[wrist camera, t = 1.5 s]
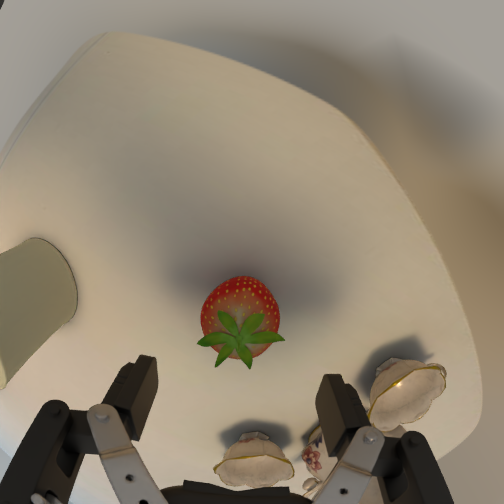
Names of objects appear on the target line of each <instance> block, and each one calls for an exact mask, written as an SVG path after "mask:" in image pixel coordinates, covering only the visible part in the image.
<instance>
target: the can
mask: <svg viewBox="0 0 504 504" xmlns="http://www.w3.org/2000/svg"><path fill="white" fill-rule="evenodd" d="M76 306H77V289H76V284H75V281H74V277H73V275H72V272H71V270H70V268H69V266H68V264H67V262H66V261H65V259H64V258H63V256H62V255H61V254H60V252H59V251H58V250H57V249H56V248H55V247H54V246H52V245H51V244H50V243H48V242H46V241H44V240H42V239H37V238H33V239H28V240H26V241H24V242H23V243H22V244H20V245H18V246H16V247H14V248H12V249H10V250H8V251H6V252H4V253H1V254H0V389H4V388H5V387H6V385H7V383H8V382H9V381H10V379H11V378H12V377H13V376H14V375H15V374H16V372H17V371H18V370H19V369H20V368H21V367H22V366H23V365H24V363H25V362H26V361H27V360H28V359H29V358H30V357H31V356H32V355H33V354H34V353H35V352H36V351H37V350H38V349H39V348H40V346H41V345H42V344H43V343H44V342H45V341H46V340H47V339H48V338H49V337H50V336H51V335H52V334H53V333H54V332H56V331H57V330H58V329H59V328H60V327H61V326H62V325H63V324H65V323H67V322H68V321H69V320H70V319H71V318H72V317H73V315H74V313H75V310H76Z"/></svg>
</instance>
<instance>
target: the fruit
mask: <svg viewBox="0 0 504 504" xmlns="http://www.w3.org/2000/svg"><path fill="white" fill-rule="evenodd" d="M279 323H280V313H279V308H278V304H277V302H276V300H275V299H274V297H273V295H272V294H271V292H270V291H269V290H268V288H267V287H266V286H265V285H264V284H263V283H261V282H260V281H259V280H257V279H254V278H252V277H248V276H238V277H235V278H232V279H229V280H227V281H225V282H224V283H222V284H221V285H219V286H218V287H217V288H216V289H215V290H214V291H213V292H212V293H211V294H210V295H209V296H208V298H207V299H206V301H205V303H204V305H203V307H202V311H201V326H202V330H203V334H204V337H203V338H202V339H201V340H199V341H198V343H197V344H199V345H201V346H204V347H208V346H211V347H212V348H213V349H214V350H215V351H216V352H218V353H219V354H218V357H217V360H216V364H215V367H217V366H218V365H220V364H221V363H222V362H223V361H224V360H225V359H226V358H227V357H229V358H233V359H241V360H242V361H243V362H244V363H245V364H246V365H247V366H248V368H249V369H251V366H252V358H254V357H257V356H259V355H260V354H262V353H263V352H264V351H265V350H266V349H267V348H268V347H269V346H270V345H271V344H272V343H273V342H277V341H285V339H284V338H283V337H281V336H280V335H279V334H277V333H278V328H279Z"/></svg>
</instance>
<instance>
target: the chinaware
mask: <svg viewBox="0 0 504 504" xmlns="http://www.w3.org/2000/svg"><path fill="white" fill-rule="evenodd" d="M441 370H442V372H443V373H444V376H443V375H442V373H441ZM375 378H376V379H375V381H374V383H373V385H372V388H371V392H370V409H369V411H368V412H367V416H368V419H369V421H370V423H371V426H372V427H375V428H377V429H379V430H380V431H381V432H382V433H383V434H384V436H387V437H397V438H401V437H402V435H403V434H404V433H406V432H407V431H406V430H405V429H404V428H403V427H402V426H401V425H400V423H402V424H404V423H412V422H414V421H416V420H418V419H420V418H422V416H423V415H424V414H425V413H426V412H427V411H428V410H429V408H430V405H431V403H432V400H434V399H435V398H437V397H438V396H440V395H441V394H442V392H443V391H444V389H445V388H446V380H445V379H446V370H445V368H444V367H443V366H441V365H439V364H435V363H431V364H428V365H426V364H424V363H422V362H420V361H416V360H401V359H398V358H392V357H391V358H390V359H389V360H387V361H386V362H384V363H383V364H382V365H381V366H380V367H378V368H377V369H376V375H375ZM268 439H269V437H267V436H266V435H264V434H262V433H259V432H250V433H245V434H242V436H241V437H240V439H239V441H238V442H236V443H235V444H233V445H232V446H231V447H230V448H229V449H228V450H227V452H226V453H225V455H224V457H223V460H222V462H220V463H219V464H217V465H215V466H214V468H213V470H214V473H215V474H218V475H219V477H220V479H221V481H222V482H224V483H225V484H226V485H230V486H241V485H245V483H246V485H247V486H250V487H253V488H261V487H271V486H273V485H274V484H275V483H277V482H278V481H279V480H280V481H281V480H288V479H290V478H292V477H293V476H294V469H293V466H292V464H291V462H290V461H289V460H288V459H287V458H286V457H285V455H284V453H283V451H282V450H281V449H280V448H279V447H278V446H277V445H276V444H274V443H273V442H271V441H269V440H268ZM308 443H309V444H308V445H307V446H306V447H305V448H304V450H303V451H302V458H303V460H304V461H305V463H306V466H307V469H308V471H309V472H310V473H311V474H312V475H313V476H314V477H316V478H317V479H319V480H320V481H318V480H317V479H316V478H308V479H307V480H306V481H305V482H304V483H303V489H304V490H307V491H308V492H306V493H305V494H304V495H303V496H304V497H306V498H308V497H309V496H310V495H311V494H312V493H314V492H315V491H317V490H319V488H320V487H321V486H322V484H323V483H324V481H325V480H326V478H327V477H328V475H329V474H330V472H331V471H332V469H333V468H334V466H335V464H336V463H337V461H338V460H337V457H328V453H327V449H326V445H325V441H324V437H323V433H322V430H321V426H320V425H319V426H318V427H317V428H315V429H314V430H313V432H312V433H311V434H310V436H309V439H308ZM317 484H318V485H317ZM358 504H384V503H383V499H382V495H381V491H380V488H379V484H378V480H377V477H375V476H372V478H371V480H370V482H369V484H368V486H367V488H366V490H365V492H364V494H363V496H362V498H361V500H360V501H359V503H358Z"/></svg>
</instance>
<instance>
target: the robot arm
mask: <svg viewBox="0 0 504 504" xmlns="http://www.w3.org/2000/svg"><path fill="white" fill-rule="evenodd" d="M157 389H158V373H157V361H156V358H155V357H151V356H146V355H139V357H138V359H137V361H136V363H135V364H134V363H130V362H129V363H127V364H126V365H125V366H123V367H122V368H121V369H120V371H119V373H118V374H117V376H116V378H115V380H114V382H113V383H112V385H111V387H110V388H109V390H108V392H107V394H106V396H105V397H104V399H103V401H102V403H101V404H97V405H94V406H92V407H91V408H90V409H89V410H88V411H81V410H70V409H69V407H68V405H67V404H66V403H65V402H63V401H60V400H50V401H48V402H46V403H45V404H44V405H43V406H42V408H41V409H40V411H39V413H38V414H37V416H36V418H35V419H34V421H33V423H32V424H31V426H30V428H29V429H28V431H27V433H26V435H25V436H24V438H23V440H22V442H21V444H20V445H19V447H18V449H17V451H16V453H15V455H14V457H13V459H12V461H11V463H10V465H9V467H8V469H7V471H6V473H5V475H4V477H3V479H2V481H1V483H0V504H68V501H69V498H70V495H71V492H72V489H73V486H74V483H75V480H76V477H77V475H78V472H79V469H80V466H81V464H82V461H83V458H84V456H85V454H97V455H99V457H100V460H101V462H102V465H103V467H104V469H105V472H106V474H107V476H108V479H109V481H110V483H111V485H112V487H113V489H114V492H115V494H116V496H117V498H118V500H119V502H120V504H358V503H359V501H360V500H361V498H362V496H363V494H364V492H365V490H366V488H367V486H368V484H369V482H370V480H371V478H372V476H375V477H377V480H378V484H379V488H380V491H381V495H382V499H383V503H384V504H454V502H453V499H452V497H451V494H450V492H449V489H448V487H447V485H446V482H445V480H444V477H443V475H442V473H441V471H440V468H439V466H438V464H437V461H436V459H435V457H434V455H433V453H432V451H431V448H430V446H429V444H428V442H427V440H426V438H425V437H424V435H422V434H421V433H419V432H417V431H408V432H406V433H404V434H403V435H402V437H401V438H397V437H387V436H384V434H383V433H382V432H381V431H380V430H379V429H377V428H375V427H372V426H371V423H370V421H369V419H368V416H367V414H366V412H365V409H364V407H363V405H362V403H361V400H360V399H359V396H358V394H357V391H356V390H355V389H354V388H353V387H352V386H351V385H350V384H345V383H344V381H343V379H342V376H341V375H340V374H325V375H324V376H323V379H322V382H321V384H320V387H319V390H318V393H317V395H316V401H315V405H316V410H317V414H318V418H319V422H320V426H321V430H322V433H323V437H324V441H325V445H326V449H327V453H328V457H337V460H338V461H337V463H336V464H335V466H334V468H333V469H332V471H331V472H330V474H329V475H328V477H327V478H326V480H325V481H324V483H323V484H322V486H321V487H320V488H319V490H318V491H317V493H316V494H315V495H314V496H313V498H312V499H311V500H310V499H308V498H306V497H304V496H301V495H298V494H295V493H290V490H289V487H261V488H256V489H250V490H243V491H233V490H230V489H226V488H223V487H219V486H216V485H213V484H210V483H202V482H195V481H188V480H184V482H183V485H181V486H172V487H167V488H164V489H161V490H159V488H158V487H157V485H156V483H155V482H154V480H153V478H152V477H151V475H150V473H149V472H148V470H147V468H146V466H145V465H144V463H143V461H142V459H141V457H140V455H139V453H138V452H137V450H136V448H135V447H134V446H133V444H132V442H131V440H135V441H139V440H140V437H141V434H142V431H143V429H144V426H145V423H146V420H147V417H148V415H149V412H150V409H151V406H152V404H153V401H154V398H155V396H156V393H157Z"/></svg>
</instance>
